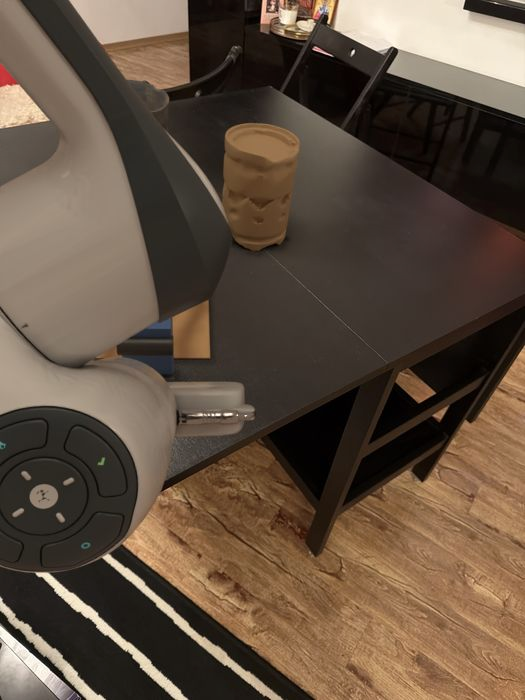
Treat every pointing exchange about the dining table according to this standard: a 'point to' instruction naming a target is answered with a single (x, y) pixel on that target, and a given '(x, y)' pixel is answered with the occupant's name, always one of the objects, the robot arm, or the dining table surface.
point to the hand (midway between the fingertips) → (136, 395)
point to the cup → (153, 100)
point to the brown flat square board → (186, 334)
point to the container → (259, 182)
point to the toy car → (153, 348)
